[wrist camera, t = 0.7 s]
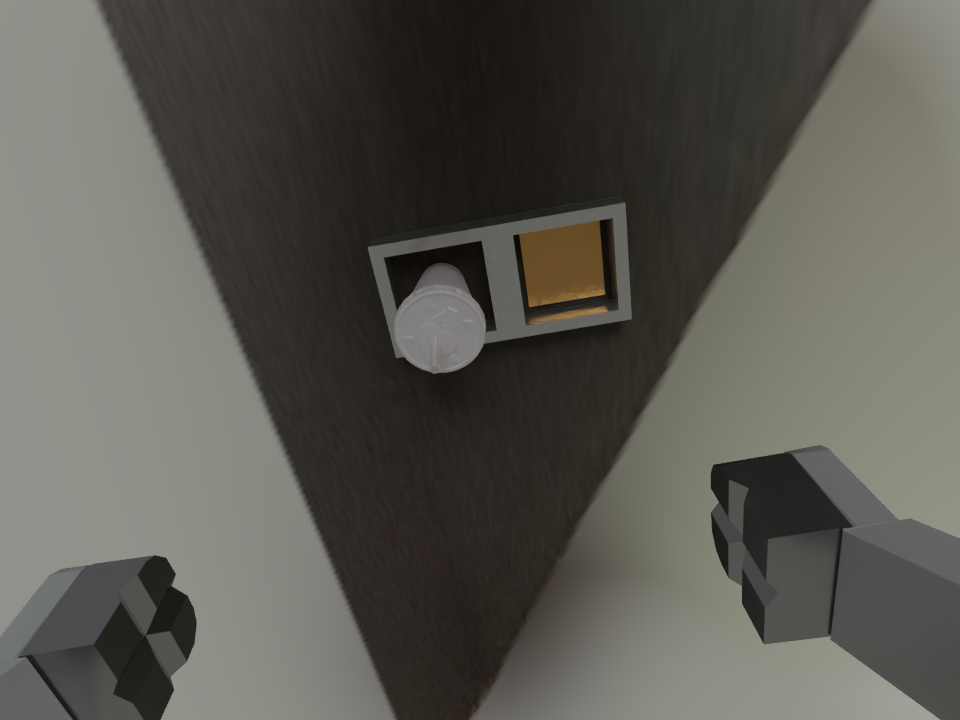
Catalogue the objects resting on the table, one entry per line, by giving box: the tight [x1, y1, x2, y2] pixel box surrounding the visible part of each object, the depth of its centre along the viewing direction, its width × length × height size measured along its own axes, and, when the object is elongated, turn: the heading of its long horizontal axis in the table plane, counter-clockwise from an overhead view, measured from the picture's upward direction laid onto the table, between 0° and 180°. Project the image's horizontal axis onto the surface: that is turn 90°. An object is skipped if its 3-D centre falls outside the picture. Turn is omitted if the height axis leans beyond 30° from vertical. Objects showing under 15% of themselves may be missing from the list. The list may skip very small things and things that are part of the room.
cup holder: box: [368, 195, 632, 358], centre depth 49 cm, size 10×20×2 cm, turn 99°
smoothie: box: [394, 263, 486, 374], centre depth 44 cm, size 6×6×14 cm
